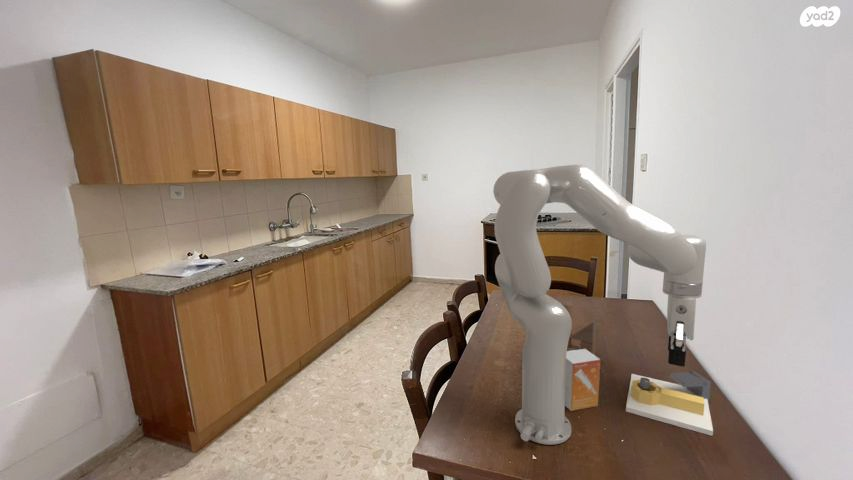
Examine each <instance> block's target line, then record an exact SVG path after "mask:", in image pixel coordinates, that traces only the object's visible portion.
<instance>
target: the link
mask: <svg viewBox="0 0 853 480" xmlns="http://www.w3.org/2000/svg"><path fill="white" fill-rule="evenodd" d="M640 380H641V379H640ZM640 380H634V381H632V388H631V397H633V398H634V399H635V400H636V401H638V402H640V403H643V404H647V405H651V406H652V405H657V404H661V405H665V406H668V407H672V408H676V409H680V410H684V411H687V412H691V413H695V414H699V415H703V414H704V398H703V397H699V396H695V395H691V394H687V393H682V392H678V391H674V390H670V389H666V388H662V387H659V386H658V385H656V384H655V383H653V382H650V384H649V391H646V390H642V389H641V388H640Z"/></svg>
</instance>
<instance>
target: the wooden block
mask: <svg viewBox="0 0 853 480" xmlns="http://www.w3.org/2000/svg"><path fill="white" fill-rule="evenodd" d="M560 303H561V304H562V305H563V306H564V307H565V308H566V310H567V311H568V312H569V314H570V317H571V321H572V322H573V312H574V311H573V309H574V305H573V303H572V302H570V301H562V302H560ZM597 323H598V322H597V318H595V319H594V320H592V321H590V322H588V323H587V324H586V325H584V326H583V327H582V328H579V329H578V330H577V331H575V332H574V333H573V327H572V328H571V333H570V337H569V341H568V346H567V351H571V350H579V349H586V350H588V351H589V352H591V353H592V354H593V355H595V356H596V339H597ZM573 340H576V341H580V346H578V345H575V344H572V341H573Z"/></svg>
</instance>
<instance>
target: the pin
mask: <svg viewBox="0 0 853 480" xmlns="http://www.w3.org/2000/svg"><path fill="white" fill-rule="evenodd" d="M649 384H650V380H649V379H647V378H641V380H640V388H641V389H642V390H646V391H649Z"/></svg>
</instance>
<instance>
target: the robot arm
mask: <svg viewBox="0 0 853 480" xmlns="http://www.w3.org/2000/svg"><path fill="white" fill-rule="evenodd" d="M493 195H494V196H493V197H494V199H495V200H496V202H497V203H498V204H499V207H498V209H497V212H496V216H495V219H494V220H495V221H494V227H493V228H494V230H493V231H494V236H495V240H496V243H497V247H498V250H499V253H500V254H499V255H498V256H497V257H496V260H495V264H494V273H495V278H496V280H497V283H498V285H499V287H500V291H501V294H502V296H503V299H504V301H505V303H506V307H507V308H508V311H509V313H510V315H511V316H512V318H513V319H515V321H516V322H517V323H518V324H520V326H522V328H523V329H524V330H525V332H526V338H525V341H524V343H523V344H524V345H523V348H522V354H521V355H522V356H521V358H522V361H521V366H522V369H521V370H522V371H521V372H522V374H521V375H522V377H521V381H522V382H521V390H522V391H521V409H519V410H518V411H517V412H516V414H515V418H514V423H515V428H516V429H517V430H518V432H519V433H520V438H521V440H523V441H524V442H528V441H532V442H534V443H537V444H540V445H541V444H542V445H549V446H551V445H558V444H562V443H564V442H566V441H567V440H569V438H570V437H571V435H572V424H571V423H570V419H568V417H567V416H565V415H566V414H565V413H566V412H565V409H566V406H565V383H566V354H567V346H568V341H569V337H570V333H571V328H572V329H573V320H572V321H571V317H570V314H569V312H568V311H567V310H566V308H565V307H564V306H563V305H562V304H561V302H559V301H558V300H557V299H555V298H553V297H552V296H550V295H549V294H548V293H547V292H548V291H549V289H550V287H551V284H552V276H551V270H550V268H549V265H548V263H547V260H546V258H545V255H544V251H543V249H542V248H543V247H542V246H541V243H540V239H539V236H538V232H537V221H538V217H540V216H539V215H540V214H541V211H542V210H543V209H544V207H545V205H546V204H553V203H557V204H558V203H562V204H565V205H566V206H568V207H569V208H570V209H572V210H573V211H574V212H576V213H577V214H578V215H579V216H580V217H582V219H584V220H585V221H586V222H588V223H589V224H590V225H591V226H593V228H594V229H596V230H597V231H598V232H600V233H602V234H604V235H606V236H607V237H609V238H612V239H615V240H618V241H621V242H622V243H626V244H628V246H627V255H628V257H629V259H630V260H631V261H632V262H633V263H634V264H636V265H639V266H641V267H644V268H648V269H651V270H655V271H657V272H661V273H663V279H662V281H663V282H662V293H664V294H665V295H667V307H666V310H667V311H666V319H667V321H666V323H667V333H668V334H667V335H668V345H667V350H668V351H667V352H668V360H667V363H668V364H669V365H672V366H678V367H682V368H684V367H685V365H686V356H687V355H686V354H687V349H686V342H687V340H689V341H693V340H694V336H695V321H696V310H697V309H696V306H697V305H696V304H697V303H696V299H699V298H701V297H702V292H703V283H704V273H705V261H706V260H705V259H706V250H707V242H706V239H705V238H704V237H702V236H699V235H690V234H681V232H679V231H678V230H677V229H676V228H675V227H673V226H671V224H669V223H667V222H665V221H663V219H660V218H658V217H657V216H656V215H653V214H651V213H649V212H648V211H646V210H644V209H642V208H640V207H638V206H636V205H635V204H632V203H630V202H629V200H627V199H626V198H624V197H623V196H622V194H620V193H619V192H618V191H617V190H615V189H614V188H613V187H612V186H611V185H610V184H608V183H607V182H606V181H605V180H604V179H603V178H602V177H601V176H599V174H597V173H596V171H594V170H592V169H591V168H590V167H588V166H586V165H582V164H566V165H557V166H551V167H545V168H544V167H543V168H536V169H525V170H524V169H523V170H516V171H508V172H505V173H502V175H500V176H499V177H497V179H496V181H495V182H494V184H493Z"/></svg>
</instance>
